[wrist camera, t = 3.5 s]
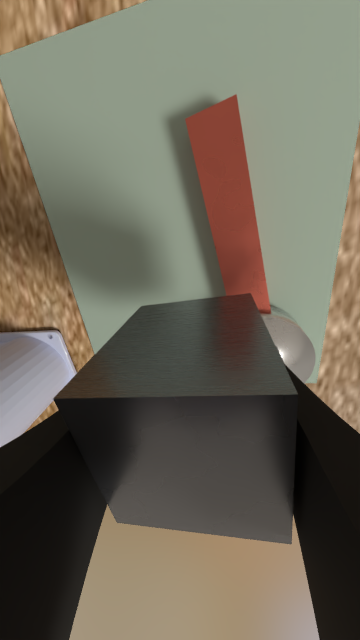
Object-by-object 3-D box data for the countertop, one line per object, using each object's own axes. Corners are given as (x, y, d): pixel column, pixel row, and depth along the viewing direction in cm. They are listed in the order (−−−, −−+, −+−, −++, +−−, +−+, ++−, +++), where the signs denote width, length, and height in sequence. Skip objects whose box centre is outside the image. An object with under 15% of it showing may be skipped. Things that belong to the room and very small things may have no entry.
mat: (105, 378, 23) (103, 380, 22) (-1, 62, 13) (-7, 58, 13) (314, 379, 18) (316, 383, 18) (387, -80, 9) (394, -92, 8)
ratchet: (305, 372, 18) (339, 431, 13) (222, 382, 20) (223, 437, 15) (276, 91, 11) (322, -13, 6) (155, 147, 13) (115, 103, 8)
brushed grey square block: (162, 388, 12) (116, 522, 7) (141, 305, 10) (52, 399, 5) (255, 386, 11) (291, 544, 6) (250, 293, 9) (298, 394, 4)
